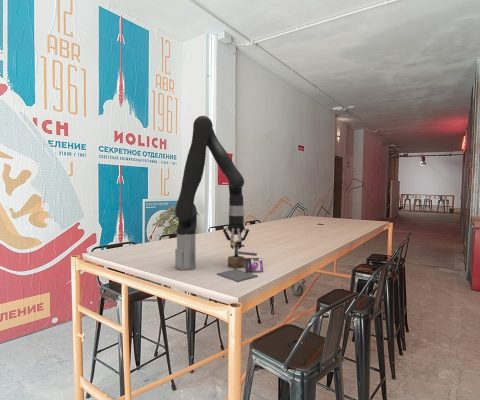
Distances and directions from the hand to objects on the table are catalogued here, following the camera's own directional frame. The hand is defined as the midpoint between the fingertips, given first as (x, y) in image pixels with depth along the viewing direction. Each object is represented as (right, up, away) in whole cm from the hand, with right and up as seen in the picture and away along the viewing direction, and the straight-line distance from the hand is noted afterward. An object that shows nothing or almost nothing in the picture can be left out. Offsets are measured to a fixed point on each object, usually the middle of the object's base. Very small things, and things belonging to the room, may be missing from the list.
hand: (236, 248), depth 162 cm
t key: (+5, -4, -2) cm, 6 cm away
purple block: (+8, -10, -9) cm, 15 cm away
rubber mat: (+1, -10, -15) cm, 18 cm away
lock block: (0, -9, +1) cm, 9 cm away
